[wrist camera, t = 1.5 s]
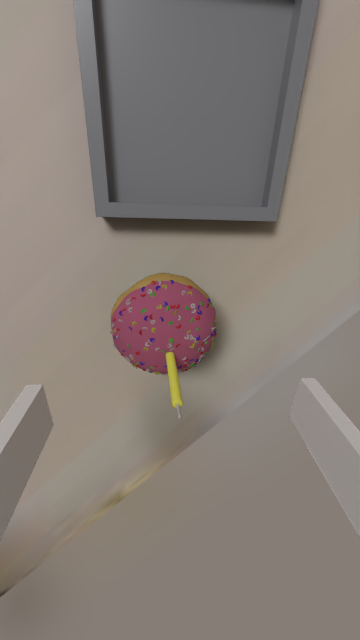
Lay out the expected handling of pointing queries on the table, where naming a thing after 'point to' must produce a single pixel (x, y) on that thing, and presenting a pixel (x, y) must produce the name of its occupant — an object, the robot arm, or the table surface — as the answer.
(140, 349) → the cupcake
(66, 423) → the table surface
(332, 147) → the table surface
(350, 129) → the table surface
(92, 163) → the tray
